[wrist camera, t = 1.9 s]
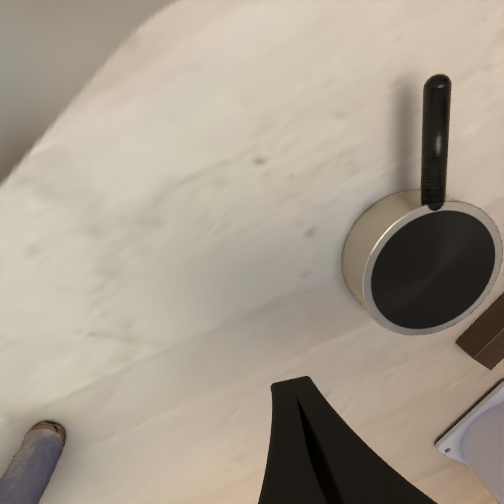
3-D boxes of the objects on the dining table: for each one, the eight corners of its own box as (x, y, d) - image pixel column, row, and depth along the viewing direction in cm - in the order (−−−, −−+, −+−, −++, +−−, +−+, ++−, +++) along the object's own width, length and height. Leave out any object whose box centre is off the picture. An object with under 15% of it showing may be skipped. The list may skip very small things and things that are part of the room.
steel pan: (460, 296, 23) (498, 322, 20) (345, 320, 22) (366, 351, 19) (478, 68, 18) (534, 56, 15) (329, 94, 17) (355, 88, 14)
